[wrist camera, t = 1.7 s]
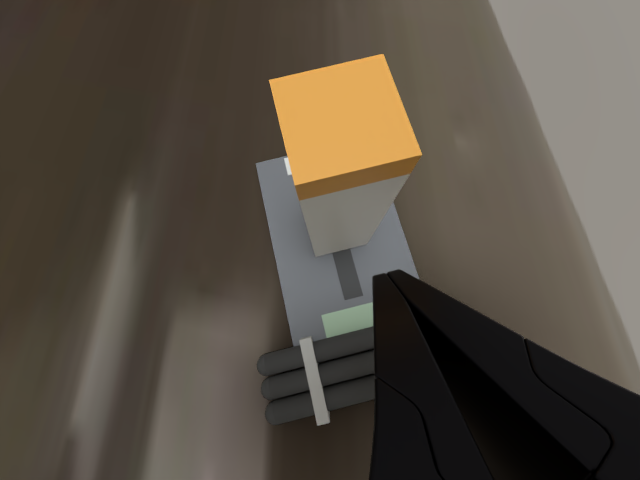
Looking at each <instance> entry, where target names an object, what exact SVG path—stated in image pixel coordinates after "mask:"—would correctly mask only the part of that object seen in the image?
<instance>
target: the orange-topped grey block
mask: <svg viewBox="0 0 640 480" xmlns="http://www.w3.org/2000/svg"><path fill="white" fill-rule="evenodd" d="M269 82H270V86H271V90H272V94H273V98H274V102H275V106H276V111H277V115H278V119H279V123H280V127H281V131H282V135H283V140H284V144H285V148H286V152H287V156H288V160H289V164H290V168H291V173H292V177H293V181H294V185H295V189H296V192H297V195H298V199H299V202H300V206H301V209H302V212H303V216H304V219H305V223H306V226H307V230H308V233H309V236H310V240H311V243H312V247H313V250H314V253H315V257H317V256H321V255H325V254H329V253H333V252H337V251H341V250H345V249H349V248H354V247H358V246H362V245H366V244H367V243H368V241H369V240H370V238H371V237H372V235H373V233H374V232H375V230H376V228H377V227H378V225H379V224H380V222H381V220H382V219H383V217H384V216H385V214H386V212H387V211H388V209H389V207H390V206H391V204H392V203H393V201H394V199H395V198H396V196H397V194H398V193H399V191H400V190H401V188H402V186H403V185H404V183H405V182H406V180H407V178H408V177H409V175H410V173H411V172H412V170H413V169H414V167H415V165H416V164H417V162H418V160H419V159H420V157H421V156H422V153H421V150H420V148H419V145H418V143H417V140H416V138H415V135H414V132H413V130H412V127H411V125H410V122H409V119H408V117H407V114H406V112H405V109H404V106H403V104H402V101H401V99H400V96H399V93H398V91H397V88H396V86H395V83H394V80H393V78H392V75H391V73H390V70H389V68H388V65H387V62H386V60H385V57H384V55H383V54H380V55H376V56H371V57H367V58H363V59H358V60H354V61H350V62H345V63H341V64H337V65H333V66H328V67H324V68H320V69H315V70H311V71H307V72H302V73H298V74H294V75H289V76H285V77H281V78H276V79H272V80H269Z"/></svg>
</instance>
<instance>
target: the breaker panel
mask: <svg viewBox="0 0 640 480" xmlns="http://www.w3.org/2000/svg"><path fill="white" fill-rule="evenodd" d="M256 167H257V172H258V177H259V181H260V186H261V191H262V196H263V201H264V206H265V211H266V215H267V220H268V225H269V230H270V235H271V240H272V244H273V249H274V254H275V259H276V264H277V269H278V273H279V278H280V283H281V288H282V293H283V298H284V303H285V307H286V312H287V317H288V322H289V327H290V332H291V336H292V341H293V346H298V345H300V342H299V340H300V339H301V338H305V337H309V336H312V340H313V342H314V341H317V340H321V339H325V338H329V337H333V336H337V335H341V334H345V333H349V332H353V331H357V330H360V329H364V328H368V327H372V326H373V295H372V277H373V276H374V275H377V274H381V273H387V272H389V271H393V270H397V269H400V270H403V271H404V272H406V273H408V274H410V275H412V276H414V277H415V278H417V279H419V277H418V274H417V271H416V268H415V265H414V262H413V259H412V256H411V253H410V250H409V247H408V244H407V241H406V238H405V235H404V232H403V229H402V227H401V224H400V221H399V218H398V215H397V212H396V209H395V206H394V203H392V204H391V206H390V207H389V209H388V211H387V212H386V214H385V216H384V217H383V219H382V220H381V222H380V224H379V225H378V227H377V228H376V230H375V232H374V233H373V235H372V237H371V238H370V240H369V241H368V243H367V244H366V245H362V246H358V247H354V248H349V249H345V250H341V251H337V252H333V253H329V254H325V255H321V256H317V257H315V253H314V250H313V247H312V243H311V240H310V236H309V233H308V230H307V226H306V223H305V219H304V216H303V212H302V209H301V206H300V202H299V199H298V195H297V192H296V189H295V185H294V181H293V177H292V173H291V168H290V164H289V160H288V156H285V157H280V158H276V159H272V160H268V161H264V162H259V163H256Z"/></svg>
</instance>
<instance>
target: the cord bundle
mask: <svg viewBox="0 0 640 480" xmlns="http://www.w3.org/2000/svg"><path fill="white" fill-rule="evenodd" d="M299 342H300V345H298V346H294V347H290V348H286V349H282V350H279V351H275V352H271V353H267V354H264V355H262V356H261V357H260V358H259V360H258V362H257V369H258V371H259V373H260V374H262V375H264V376H269V375H273V374H277V373H281V372H285V371H289V370H292V369H296V368H300V367H304V366H305V368H301V369H297V370H293V371H290V372H286V373H282V374H278V375H274V376H270V377H268V378H266V379H265V380H264V381H263V383H262V386H261V393H262V395H263V397H264V398H266V399H268V400H274V399H277V400H274V401H272V402H270V403H269V404H268V406H267V408H266V411H265V416H266V419H267V421H268V422H269V423H270V424H272V425H279V424H282V423H286V422H290V421H294V420H297V419H301V418H305V417H309V416H313V415H315V417H316V422H317V426H319V425H323V424H327V423H330V412H329V411H332V410H335V409H339V408H343V407H347V406H351V405H354V404H358V403H362V402H366V401H369V400H373V399H375V394H374V379H375V377H374V374H373V373H374V350H371V351H367V352H363V353H359V354H355V355H351V356H347V357H344V358H340V359H336V360H332V361H328V362H324V363H320V364H319V362H323V361H327V360H331V359H335V358H339V357H343V356H346V355H350V354H354V353H358V352H362V351H366V350H370V349H373V348H374V341H373V326H372V327H368V328H364V329H360V330H357V331H353V332H349V333H345V334H341V335H337V336H333V337H329V338H325V339H321V340H317V341H314V342H313V340H312V336H309V337H305V338H301V339H300V340H299ZM369 374H373V375H369ZM366 375H369V376H366ZM362 376H365V377H362ZM358 377H361V378H358ZM354 378H357V379H354ZM350 379H354V380H350ZM346 380H350V381H346ZM343 381H346V382H343ZM339 382H342V383H339ZM335 383H338V384H335ZM331 384H334V385H331ZM327 385H331V386H327ZM324 386H327V387H324ZM308 390H310V391H308ZM304 391H308V392H304ZM300 392H304V393H300ZM297 393H300V394H297ZM293 394H296V395H293ZM289 395H292V396H289ZM285 396H289V397H285ZM281 397H285V398H281ZM278 398H281V399H278Z"/></svg>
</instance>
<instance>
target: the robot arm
mask: <svg viewBox="0 0 640 480" xmlns="http://www.w3.org/2000/svg"><path fill="white" fill-rule="evenodd" d="M372 295H373V341H374V377H375V379H374V394H375V400H374V431H373V443H372V455H371V464H370V474H369V480H640V395H638V394H636V393H634V392H632V391H630V390H628V389H625V388H623V387H621V386H619V385H617V384H615V383H613V382H611V381H609V380H607V379H605V378H602V377H600V376H598V375H596V374H594V373H592V372H590V371H588V370H586V369H584V368H582V367H580V366H578V365H576V364H574V363H572V362H570V361H568V360H566V359H564V358H563V357H561V356H559V355H557V354H555V353H553V352H551V351H549V350H547V349H545V348H544V347H542V346H540V345H538V344H536V343H534V342H533V341H531V340H529V339H524V337H523V336H521V335H520V334H518V333H516V332H514V331H512V330H510V329H509V328H507V327H505V326H503V325H501V324H499V323H498V322H496V321H494V320H492V319H490V318H488V317H487V316H485V315H483V314H481V313H479V312H478V311H476V310H474V309H472V308H470V307H468V306H467V305H465V304H463V303H461V302H459V301H457V300H456V299H454V298H452V297H450V296H448V295H446V294H445V293H443V292H441V291H439V290H437V289H436V288H434V287H432V286H430V285H428V284H426V283H425V282H423V281H421V280H419V279H417V278H415V277H414V276H412V275H410V274H408V273H406V272H404V271H403V270H400V269H397V270H393V271H389V272H387V273H381V274H377V275H374V276H373V277H372Z"/></svg>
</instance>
